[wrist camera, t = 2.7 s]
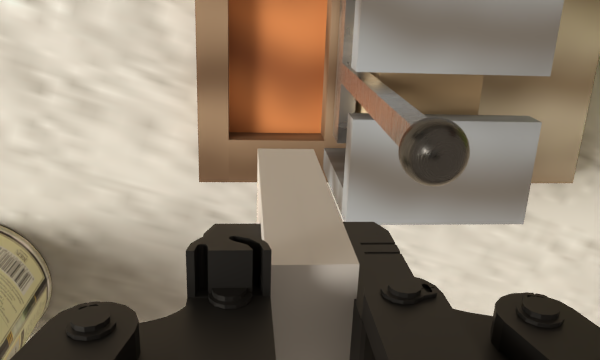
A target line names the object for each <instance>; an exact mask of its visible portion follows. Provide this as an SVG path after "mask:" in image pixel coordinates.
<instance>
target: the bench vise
mask: <svg viewBox="0 0 600 360" xmlns="http://www.w3.org/2000/svg"><path fill="white" fill-rule="evenodd" d="M340 1H341V0H195V17H196V60H197V103H198V145H199V182H257V163H258V149H314V151H315V154H316V156H317V159H318V161H319V164H320V166H321V169H322V171H323V174H324V176H325V179H326V181H327V182H329V185H330V187H331V190H332V192H333V194H334V197H335V199H336V202H337V204H338V207H339V209H340V212H341V214H342V217H343V219H344V221H345V222H375V223H377V224H378V225H422V224H523V223H524V218H525V212H526V207H527V201H528V196H529V190H530V185H531V183H573V179H574V174H575V169H576V165H577V160H578V155H579V150H580V146H581V141H582V136H583V131H584V126H585V122H586V117H587V112H588V107H589V102H590V98H591V93H592V88H593V83H594V78H595V74H596V69H597V64H598V59H599V54H600V0H356V1H355V17H354V32H353V47H352V62H351V68H353V69H354V70H355V71H356V72H381V73H425V74H469V75H484V77H483V84H482V91H481V98H480V105H479V112H478V115H448V114H424V115H425V116H426V117H442V118H446V119H449V120H451V121H453V122H454V123H456V124H457V125H458V126H459V127H460V128H461V129H462V130H463V131H464V133H465V134H466V136H467V138H468V141H469V146H470V157H469V161H468V164H467V166H466V168H465V170H464V171H463V173H462V174H461V175H460V176H459V177H458V178H457V179H455V180H454V181H452V182H450V183H448V184H446V185H442V186H426V185H422V184H419V183H417V182H415V181H414V180H412V179H411V178H410V177H409V176H408V175H407V174H406V173H405V171H404V170H403V168H402V166H401V164H400V160H399V154H398V149H399V147H398V146H397V145H396V143H395V142H394V141H393V140H392V139H391V138H390V137H389V136H388V134H387V133H386V132H385V131H384V130H383V129H382V128H381V127H380V126H379V124H378V123H377V122H376V121H375V120H374V119H373V118H372V117H371V116H370V114H369V113H348V122H347V137H346V143H337V142H336V140H335V138H334V136H333V122H334V105H335V88H336V70H337V53H338V36H339V18H340ZM355 111H356V102H355Z"/></svg>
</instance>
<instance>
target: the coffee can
mask: <svg viewBox="0 0 600 360" xmlns="http://www.w3.org/2000/svg"><path fill="white" fill-rule="evenodd" d="M51 288H52V285H51V277H50V273H49V270H48V267H47V265H46V263H45V261H44V259H43V258H42V256H41V255H40V254H39V253H38V251H37V250H36V249H35V248H34V247H33V246H32V245H31V244H30V243H29V242H28V241H27V240H26V239H24V238H23V237H22V236H20V235H19V234H17V233H15V232H14V231H12V230H10V229H7V228H5V227H3V226H1V225H0V360H10V359H11V358H12V357H13V356H14V355H15V354H16V353H17V352H18V351H19V350H20V349H21V348H22V347H23V346H24V345H25V343H26V341H27V339H28V338H29V336H30V334H31V333H32V331H33V329H34V327H35V326H36V324H37V322H38V320H39V319H40V318H41V317H42V316H43V314H44V312H45V311H46V309H47V307H48V305H49V301H50V297H51Z"/></svg>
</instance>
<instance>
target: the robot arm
mask: <svg viewBox="0 0 600 360" xmlns="http://www.w3.org/2000/svg"><path fill="white" fill-rule="evenodd" d="M186 268H187V303H186V307H184V308H183V309H181V310H180V311H178V312H176V313H174V314H172V315H169V316H167V317H164V318H160V319H157V320H153V321H148V322H143V323H139V321H138V318H137V316H136V313H135V312H134V311H133V310H131V309H130V308H129V307H127V306H125V305H121V304H117V303H113V302H89V303H88V304H87V303H84V304H80V305H77V306H75V307H72V308H70V309H67V310H65V311H62V312H60V313H59V314H58V315H56V316H55V317H53V318H52V319H51V320H49V321H48V322H47V323H46V324H45V325H44V326H43V327H42V328H41V329H40V330H39V331H38V332H37V333H36V334H35V335H34V336H33V337H32V338H31V339H30V340H29V341H28V342H27V343H26V344H25V345H24V346H23V347H22V348H21V349H20V350H19V351H18V352H17V353H16V354H15V355H14V356H13V357H12V358H11V359H10V360H600V327H598V326H597V325H595V324H594V323H592V322H591V321H590V320H588V319H587V318H585V317H584V316H583V315H581V314H580V313H578V312H577V311H575V310H574V309H573V308H571V307H569V306H567V305H565V304H563V303H562V302H560V301H557V300H554V299H551V298H548V297H547V296H545V295H541V294H534V293H514V294H509V295H506V296H503V297H501V298H500V299H499V300H498V301H497V302H496V303H495V309H494V315H493V316H487V315H481V314H475V313H469V312H464V311H460V310H455V309H452V307H451V306H450V304H449V302H448V301H447V299H446V298H445V296H444V294H443V293H442V292H441V291H440V290H439V289H438V288H437V287H436V286H435V285H433V284H431V283H429V282H427V281H425V280H424V279H420V278H416V277H414V276H413V274H412V272H411V270H410V269H409V267H408V265H407V263H406V261H405V260H404V258H403V256H402V254H400V251H399V249H398V247H397V245H395V242H394V240H393V238H392V237H391V235H390V233H389V231H387V230H386V229H384V228H383V227H381V226H380V225H378V224H377V223H375V222H342V219H341V217H340V214H339V212H338V209H337V207H336V204H335V202H334V199H333V196H332V194H331V191H330V189H329V186H328V184H327V181H326V179H325V176H324V174H323V171H322V169H321V166H320V164H319V161H318V159H317V156H316V154H315V151H314V149H258V163H257V224H214V225H213V226H212V227H211V228H210V229H209V230H208V231H206V232H205V233H204V235H203V237H202V238H200V239H198V240H196V241H194V242H193V243H191V244H190V245H189V247H188V248H187V250H186Z"/></svg>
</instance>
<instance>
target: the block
mask: <svg viewBox="0 0 600 360" xmlns="http://www.w3.org/2000/svg"><path fill="white" fill-rule="evenodd" d="M370 73H371V74H372V75H374V76H375V77H376V78H377V79H379V80H380V81H381V82H383V83H384V84H385V85H386V86H388V87H389V88H390V89H392V90H393V91H394V92H395V93H397V94H398V95H399V96H401V97H402V98H403V99H404V100H406V101H407V102H408V103H410V104H411V105H412V106H413V107H415V108H416V109H417V110H418V111H420V112H421V113H422V114H448V115H478V112H479V105H480V98H481V91H482V84H483V77H484V75H469V74H425V73H381V72H370ZM355 113H368V112H367V111H366V110H365V109H364V108H363V107H362V106H361V104H360V103H359V102H358V101H357V100H356V111H355Z"/></svg>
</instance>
